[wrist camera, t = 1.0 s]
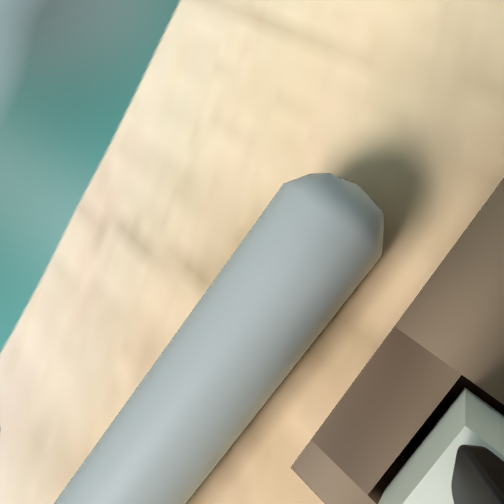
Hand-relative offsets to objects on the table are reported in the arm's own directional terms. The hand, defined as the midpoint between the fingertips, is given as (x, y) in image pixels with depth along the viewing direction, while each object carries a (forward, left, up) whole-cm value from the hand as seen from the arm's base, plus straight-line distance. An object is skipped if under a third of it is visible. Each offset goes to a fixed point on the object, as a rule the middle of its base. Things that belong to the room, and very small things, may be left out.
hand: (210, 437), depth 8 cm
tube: (+5, +6, -12) cm, 14 cm away
